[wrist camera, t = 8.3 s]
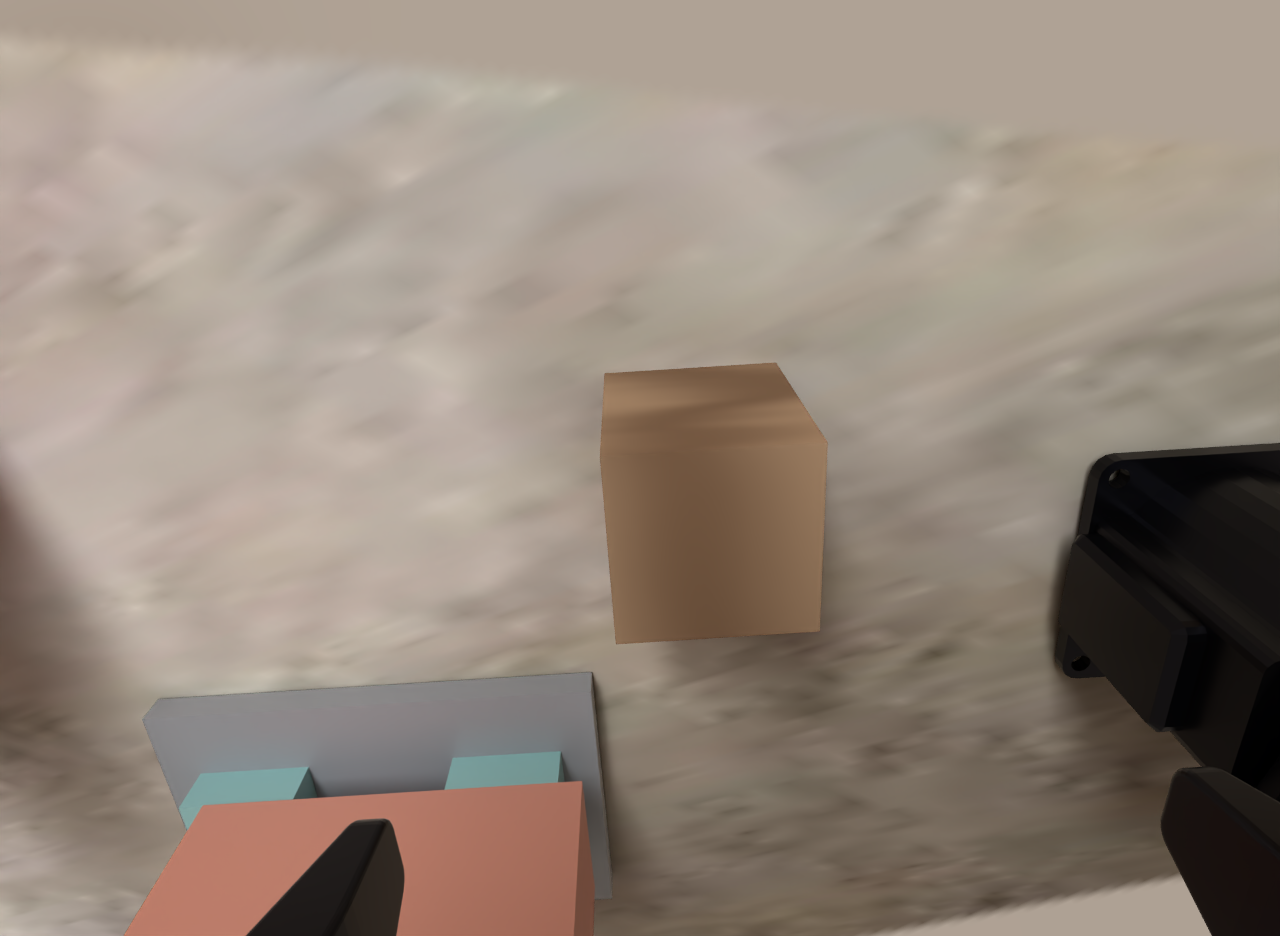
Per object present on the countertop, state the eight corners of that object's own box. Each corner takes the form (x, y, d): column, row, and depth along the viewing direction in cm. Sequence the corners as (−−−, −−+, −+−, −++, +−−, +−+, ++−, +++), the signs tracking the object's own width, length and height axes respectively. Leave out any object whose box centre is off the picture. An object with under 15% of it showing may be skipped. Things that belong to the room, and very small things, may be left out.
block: (775, 362, 18) (827, 442, 14) (773, 514, 20) (820, 631, 15) (604, 372, 18) (600, 456, 14) (616, 524, 20) (616, 644, 15)
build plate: (591, 672, 22) (589, 722, 20) (612, 875, 25) (612, 935, 23) (158, 698, 22) (116, 752, 20) (234, 899, 25) (204, 960, 23)
